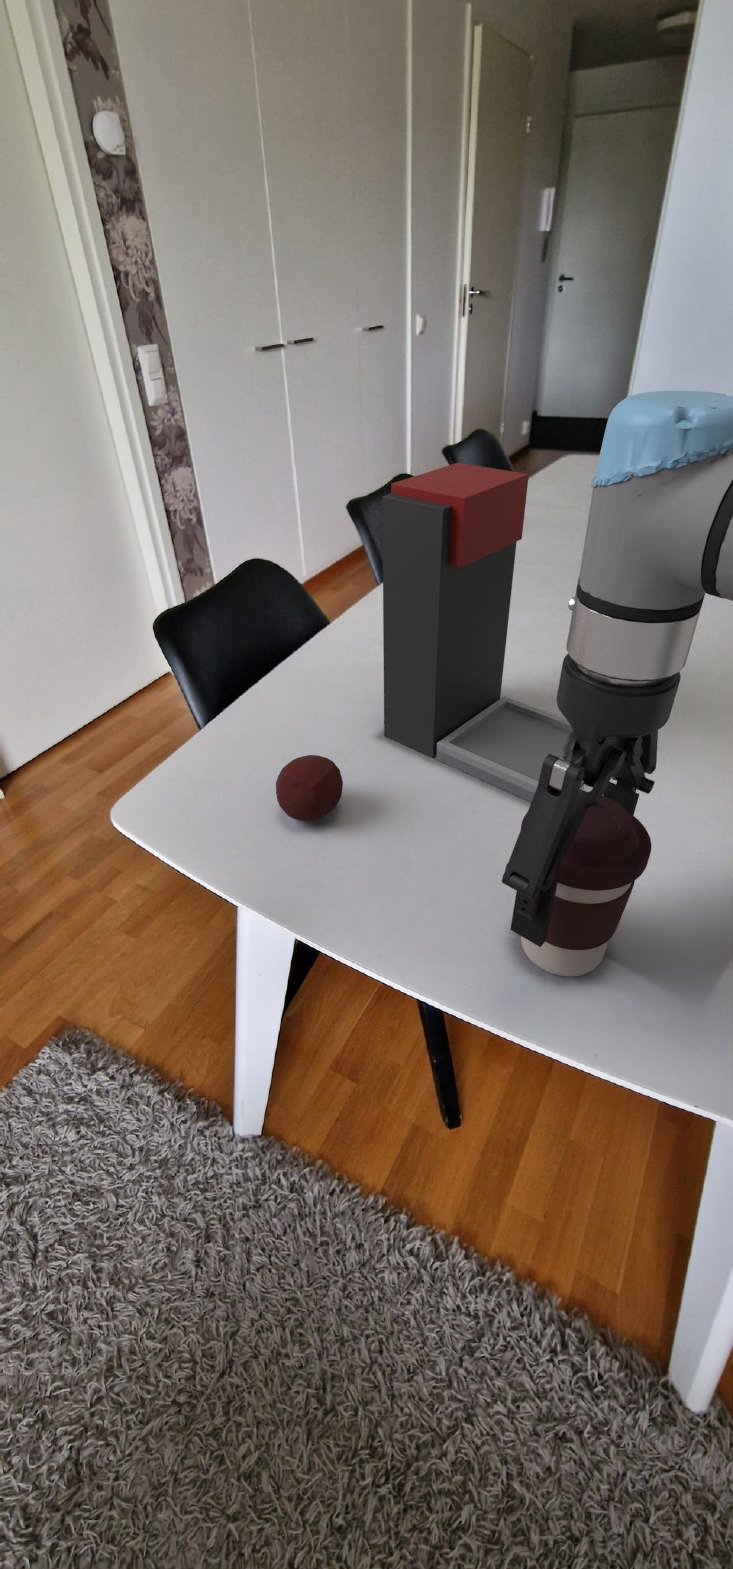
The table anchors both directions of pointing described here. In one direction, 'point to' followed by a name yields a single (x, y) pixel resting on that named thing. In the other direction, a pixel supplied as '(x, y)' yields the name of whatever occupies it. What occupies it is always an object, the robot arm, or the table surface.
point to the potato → (309, 787)
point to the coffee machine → (458, 626)
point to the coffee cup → (592, 889)
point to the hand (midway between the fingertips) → (570, 888)
